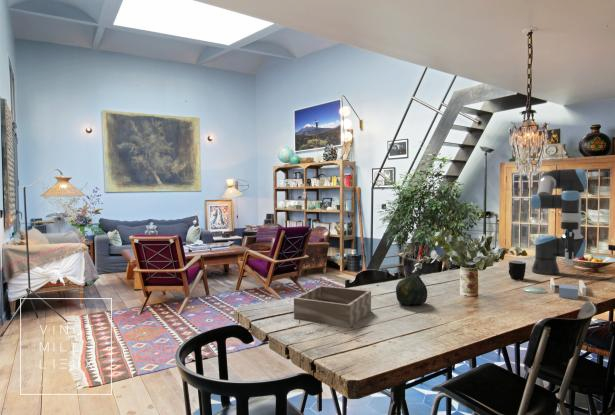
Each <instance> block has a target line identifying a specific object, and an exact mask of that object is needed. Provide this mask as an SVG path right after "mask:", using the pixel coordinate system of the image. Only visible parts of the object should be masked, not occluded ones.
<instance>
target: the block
mask: <svg viewBox="0 0 615 415" xmlns="http://www.w3.org/2000/svg"><path fill="white" fill-rule="evenodd" d="M558 285H559V288H558V297H559V298H562V299H572V300H579V285H570V284H560V283H559V284H558Z"/></svg>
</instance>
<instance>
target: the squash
mask: <svg viewBox="0 0 615 415" xmlns="http://www.w3.org/2000/svg"><path fill="white" fill-rule="evenodd" d="M395 294H396V300H397V302H398V304H401V305H403V306H404V305H406V306H409V305H413V306H415V305H423V304H424V303H426V302H427V299H428V289H427V286H426V284H425V283H424V281H423V280H422V278H421V276H420V275H419V274H418V273H417V274H414V273H413V274H412V275H409V276H406V277H405V278H402V279H401V280H399V281H398V282H397V284H396V286H395Z"/></svg>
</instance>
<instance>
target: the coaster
mask: <svg viewBox="0 0 615 415" xmlns="http://www.w3.org/2000/svg"><path fill="white" fill-rule="evenodd" d="M522 290H523V291H524V292H527V293H533V294H545V293H547V292H548V290H547V289H545V288H543V287H537V286H525V287H523V289H522Z"/></svg>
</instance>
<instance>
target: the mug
mask: <svg viewBox="0 0 615 415" xmlns="http://www.w3.org/2000/svg"><path fill="white" fill-rule="evenodd" d="M526 264H527V263H526V261H523V260H509V261H508V274H509V276H510V278H511V280H515V281H522V280H524V278H525V274H526V269H527V268H526Z"/></svg>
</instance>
